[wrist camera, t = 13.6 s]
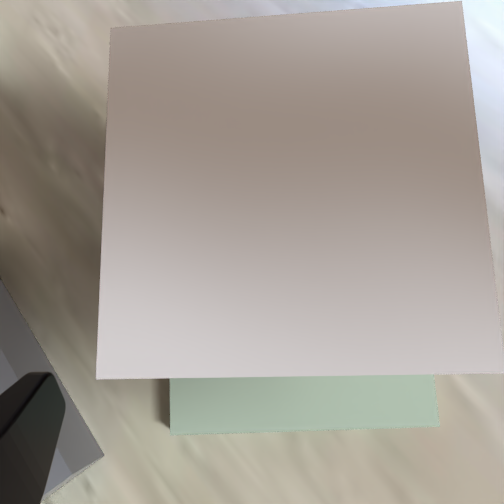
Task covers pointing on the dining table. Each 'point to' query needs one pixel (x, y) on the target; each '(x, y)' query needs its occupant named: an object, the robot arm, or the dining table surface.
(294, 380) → the mat
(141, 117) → the plug
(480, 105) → the dining table surface
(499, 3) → the dining table surface
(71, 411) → the socket block
